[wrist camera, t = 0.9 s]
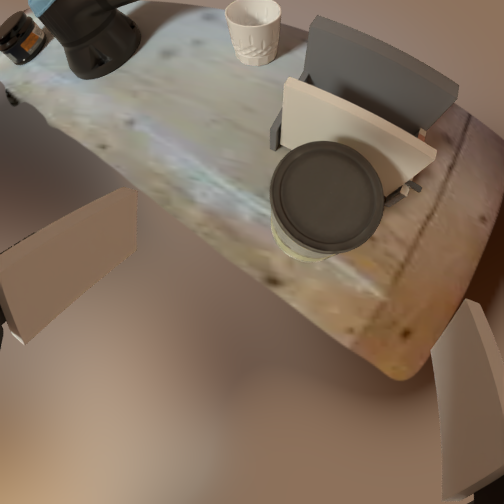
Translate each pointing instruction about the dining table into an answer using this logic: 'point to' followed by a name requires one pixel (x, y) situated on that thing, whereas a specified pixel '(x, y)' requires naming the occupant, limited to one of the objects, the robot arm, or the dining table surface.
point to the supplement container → (21, 38)
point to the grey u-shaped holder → (373, 81)
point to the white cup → (254, 30)
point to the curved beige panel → (352, 133)
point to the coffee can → (324, 201)
